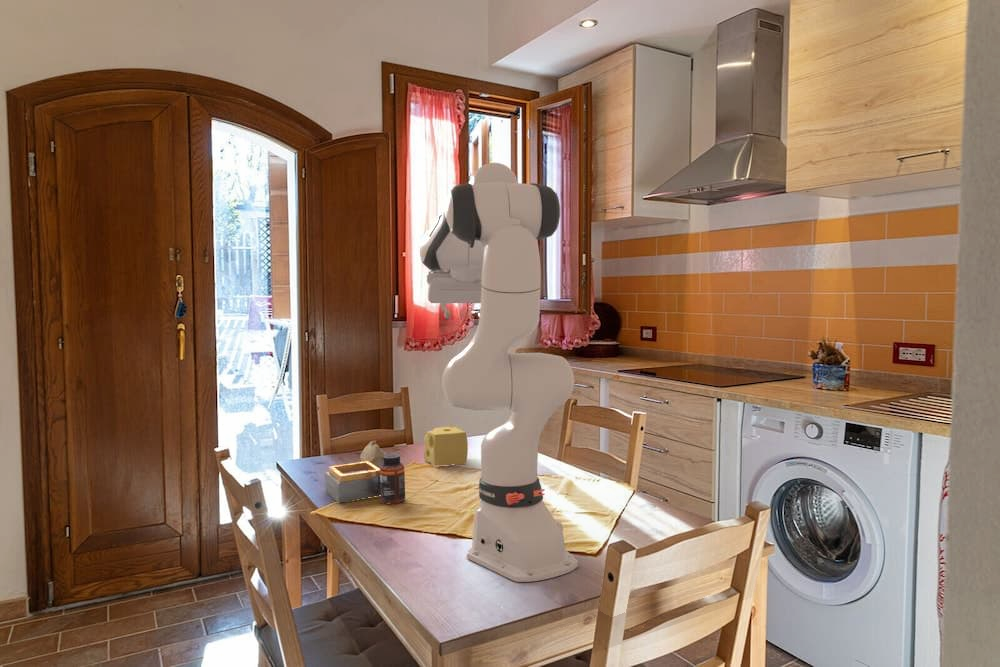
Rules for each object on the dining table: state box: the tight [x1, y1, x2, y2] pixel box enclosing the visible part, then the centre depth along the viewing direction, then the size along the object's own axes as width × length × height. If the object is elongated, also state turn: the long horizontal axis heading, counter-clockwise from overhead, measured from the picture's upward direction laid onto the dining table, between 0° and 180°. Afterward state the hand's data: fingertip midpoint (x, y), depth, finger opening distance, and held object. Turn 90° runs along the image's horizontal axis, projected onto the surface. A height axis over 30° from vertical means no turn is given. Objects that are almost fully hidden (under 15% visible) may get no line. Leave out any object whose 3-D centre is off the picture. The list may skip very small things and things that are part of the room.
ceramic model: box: [359, 440, 388, 469], centre depth 183 cm, size 14×11×10 cm
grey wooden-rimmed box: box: [324, 461, 381, 504], centre depth 167 cm, size 12×12×6 cm
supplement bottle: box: [380, 453, 406, 505], centre depth 160 cm, size 6×6×11 cm
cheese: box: [423, 426, 469, 466], centre depth 197 cm, size 10×11×10 cm
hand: (464, 316), depth 180 cm, fingers open, 8 cm apart
